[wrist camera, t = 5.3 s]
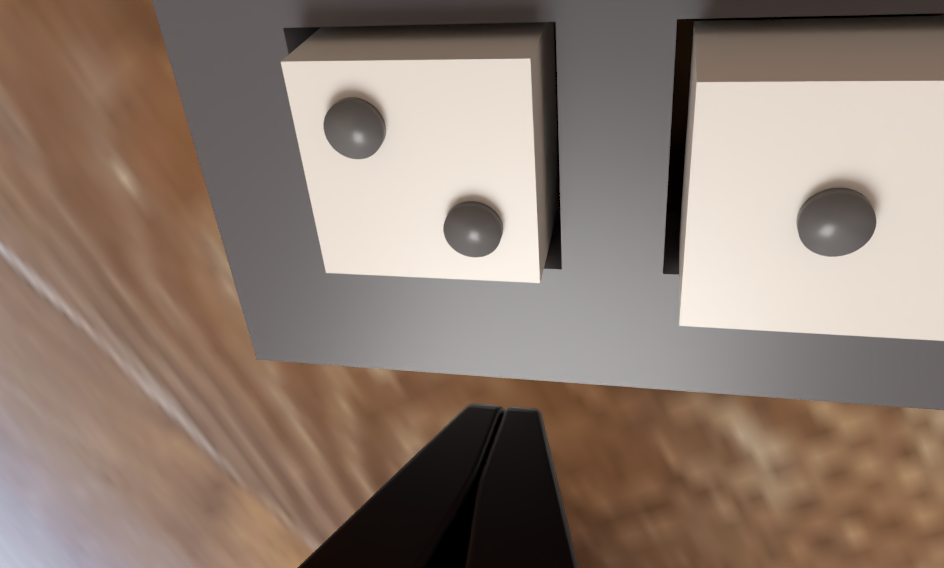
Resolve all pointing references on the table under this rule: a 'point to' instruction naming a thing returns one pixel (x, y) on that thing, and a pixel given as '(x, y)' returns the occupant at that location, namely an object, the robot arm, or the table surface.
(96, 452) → the table surface
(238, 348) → the table surface
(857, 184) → the tile one dot
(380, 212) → the tile two dots
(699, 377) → the button panel
